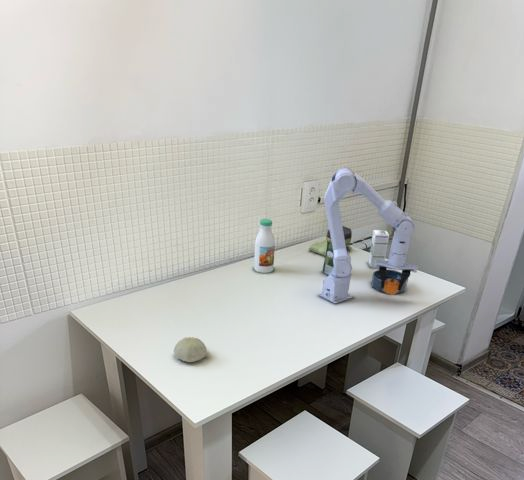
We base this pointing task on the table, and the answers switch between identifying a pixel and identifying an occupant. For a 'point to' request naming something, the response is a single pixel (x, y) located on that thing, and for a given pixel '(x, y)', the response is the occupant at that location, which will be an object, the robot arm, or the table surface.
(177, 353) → the sea urchin shell
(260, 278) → the table surface
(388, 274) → the bowl
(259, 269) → the milk bottle
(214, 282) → the table surface
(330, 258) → the coffee jar
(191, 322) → the table surface
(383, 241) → the syrup box
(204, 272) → the table surface
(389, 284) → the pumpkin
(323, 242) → the washcloth
